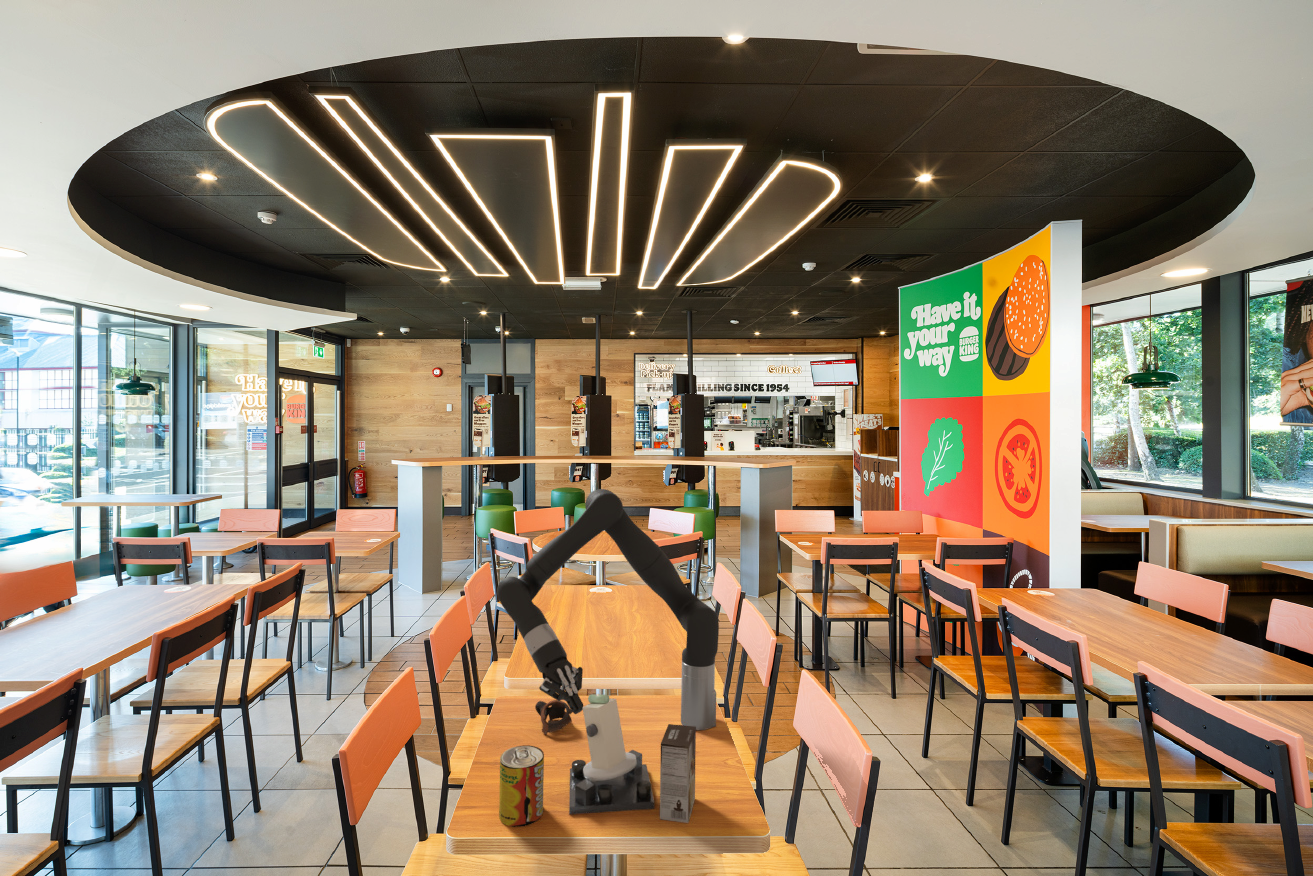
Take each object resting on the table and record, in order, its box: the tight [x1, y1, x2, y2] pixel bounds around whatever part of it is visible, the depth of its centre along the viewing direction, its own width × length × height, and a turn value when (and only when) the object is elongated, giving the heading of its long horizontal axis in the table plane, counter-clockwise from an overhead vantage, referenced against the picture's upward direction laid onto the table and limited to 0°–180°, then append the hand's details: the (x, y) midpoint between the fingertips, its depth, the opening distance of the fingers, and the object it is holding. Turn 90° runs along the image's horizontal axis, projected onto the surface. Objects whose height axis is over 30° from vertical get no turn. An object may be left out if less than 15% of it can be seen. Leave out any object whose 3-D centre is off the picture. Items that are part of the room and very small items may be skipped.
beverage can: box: [498, 744, 545, 828], centre depth 127 cm, size 9×9×12 cm
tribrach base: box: [568, 749, 655, 815], centre depth 135 cm, size 18×16×5 cm
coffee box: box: [659, 723, 697, 824], centre depth 129 cm, size 9×6×16 cm
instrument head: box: [582, 693, 637, 783], centre depth 137 cm, size 12×12×17 cm
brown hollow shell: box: [534, 699, 573, 736], centre depth 165 cm, size 12×10×8 cm
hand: (579, 711), depth 141 cm, fingers closed
